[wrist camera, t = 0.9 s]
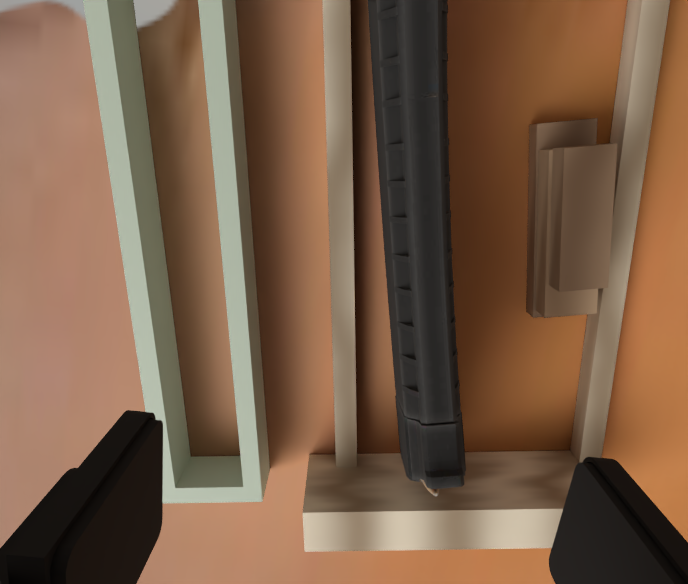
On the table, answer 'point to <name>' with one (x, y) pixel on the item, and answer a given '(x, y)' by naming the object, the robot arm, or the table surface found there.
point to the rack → (481, 467)
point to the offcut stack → (568, 217)
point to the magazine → (418, 233)
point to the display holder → (149, 253)
